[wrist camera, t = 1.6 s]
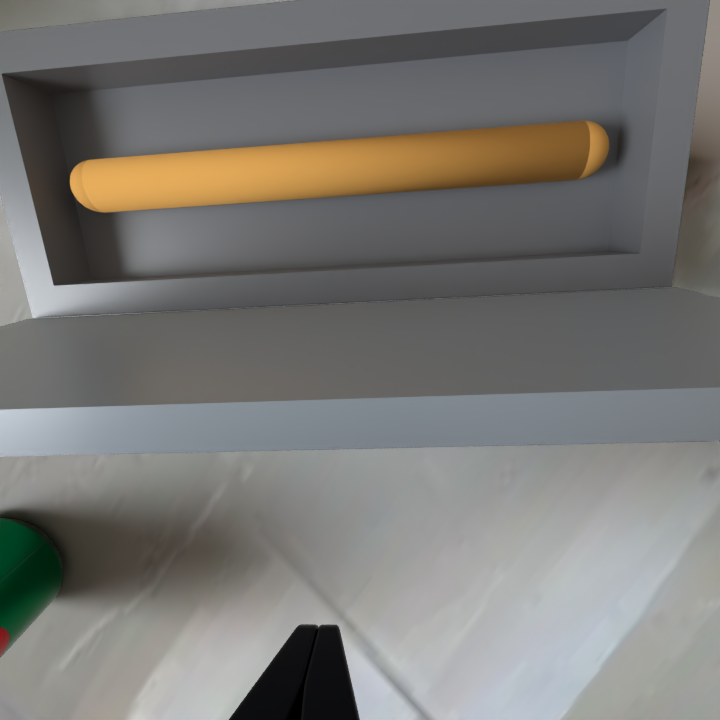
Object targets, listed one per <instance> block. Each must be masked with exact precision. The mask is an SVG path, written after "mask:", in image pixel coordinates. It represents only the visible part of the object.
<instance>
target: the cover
mask: <svg viewBox="0 0 720 720" xmlns="http://www.w3.org/2000/svg"><path fill="white" fill-rule="evenodd" d="M697 441H720V298H718V297H713V296H709V295H705V294H701V293H697V292H693V291H689V290H685V289H680V288H676V287H675V288H654V289H634V290H613V291H593V292H572V293H552V294H531V295H511V296H490V297H469V298H449V299H428V300H408V301H387V302H367V303H346V304H326V305H305V306H285V307H264V308H244V309H223V310H203V311H182V312H162V313H141V314H120V315H100V316H79V317H59V318H38V319H26V320H23V321H19V322H15V323H12V324H8V325H5V326H1V327H0V457H4V456H50V455H96V454H143V453H189V452H235V451H281V450H327V449H374V448H420V447H466V446H512V445H558V444H605V443H651V442H697Z"/></svg>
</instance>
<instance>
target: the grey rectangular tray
mask: <svg viewBox="0 0 720 720" xmlns="http://www.w3.org/2000/svg"><path fill="white" fill-rule="evenodd" d="M709 4H710V0H294V1H285V2H275V3H266V4H256V5H247V6H238V7H228V8H219V9H209V10H200V11H190V12H181V13H172V14H162V15H153V16H143V17H134V18H124V19H115V20H106V21H96V22H87V23H77V24H68V25H58V26H49V27H40V28H30V29H21V30H11V31H2V32H0V196H1V200H2V203H3V207H4V211H5V215H6V218H7V222H8V226H9V230H10V234H11V237H12V241H13V245H14V249H15V252H16V256H17V260H18V264H19V268H20V271H21V275H22V279H23V283H24V286H25V290H26V294H27V298H28V302H29V305H30V309H31V313H32V317H33V318H41V317H61V316H82V315H102V314H123V313H143V312H163V311H184V310H204V309H225V308H245V307H266V306H286V305H307V304H327V303H348V302H368V301H388V300H409V299H429V298H450V297H470V296H491V295H511V294H532V293H552V292H573V291H593V290H613V289H634V288H654V287H672V281H673V274H674V266H675V259H676V251H677V244H678V236H679V229H680V221H681V214H682V206H683V199H684V191H685V184H686V176H687V169H688V161H689V154H690V147H691V138H692V132H693V124H694V116H695V109H696V102H697V93H698V86H699V78H700V72H701V64H702V56H703V48H704V42H705V34H706V26H707V19H708V11H709ZM571 121H592V122H595V123H597V124H599V125H600V126H601V127H602V128H603V129H604V130H605V131H606V133H607V135H608V138H609V151H608V155H607V157H606V159H605V161H604V163H603V164H602V166H601V167H600V168H599V169H598V170H597V171H596V172H595V173H593V174H592V175H590V176H588V177H586V178H583V179H580V180H571V181H557V182H542V183H527V184H513V185H498V186H484V187H469V188H455V189H440V190H426V191H411V192H396V193H382V194H367V195H353V196H338V197H324V198H309V199H295V200H280V201H265V202H251V203H236V204H222V205H207V206H193V207H178V208H164V209H149V210H135V211H120V212H97V211H93V210H90V209H88V208H86V207H85V206H84V205H82V204H81V203H80V202H79V201H78V200H77V199H76V197H75V196H74V194H73V193H72V190H71V187H70V175H71V172H72V171H73V169H74V167H75V166H77V165H78V164H79V163H81V162H83V161H86V160H92V159H104V158H117V157H129V156H142V155H155V154H167V153H180V152H193V151H205V150H218V149H230V148H243V147H256V146H268V145H281V144H294V143H306V142H319V141H331V140H344V139H357V138H369V137H382V136H394V135H407V134H420V133H432V132H445V131H458V130H470V129H483V128H495V127H508V126H521V125H533V124H546V123H559V122H571Z"/></svg>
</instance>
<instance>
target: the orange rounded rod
mask: <svg viewBox="0 0 720 720" xmlns="http://www.w3.org/2000/svg"><path fill="white" fill-rule="evenodd" d="M608 151H609V138H608V135H607V133H606V131H605V130H604V129H603V128H602V127H601V126H600V125H599V124H597V123H595V122H592V121H571V122H559V123H546V124H533V125H521V126H508V127H495V128H483V129H470V130H458V131H445V132H432V133H420V134H407V135H394V136H382V137H369V138H357V139H344V140H331V141H319V142H306V143H294V144H281V145H268V146H256V147H243V148H230V149H218V150H205V151H193V152H180V153H167V154H155V155H142V156H129V157H117V158H104V159H92V160H86V161H83V162H81V163H79V164H78V165H77V166H75V167H74V169H73V171H72V172H71V175H70V187H71V190H72V193H73V194H74V196H75V197H76V199H77V200H78V201H79V202H80V203H81V204H82V205H84V206H85V207H86V208H88V209H90V210H93V211H97V212H120V211H135V210H149V209H164V208H178V207H193V206H207V205H222V204H236V203H251V202H265V201H280V200H295V199H309V198H324V197H338V196H353V195H367V194H382V193H396V192H411V191H426V190H440V189H455V188H469V187H484V186H498V185H513V184H527V183H542V182H557V181H571V180H580V179H583V178H586V177H588V176H590V175H592V174H593V173H595V172H596V171H597V170H598V169H599V168H600V167H601V166H602V164H603V163H604V161H605V159H606V157H607V155H608Z"/></svg>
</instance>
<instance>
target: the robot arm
mask: <svg viewBox="0 0 720 720" xmlns="http://www.w3.org/2000/svg"><path fill="white" fill-rule="evenodd" d="M229 720H360V719H359V714H358V710H357V705H356V701H355V696H354V692H353V687H352V683H351V678H350V674H349V669H348V665H347V660H346V656H345V651H344V647H343V642H342V638H341V633H340V629H339V627H338V626H337V625H320V626H319V627H318V626H317V625H299V626H298V627H297V628H296V629H295V630H294V632H293V633H292V634H291V636H290V637H289V638H288V640H287V641H286V643H285V644H284V645H283V647H282V648H281V649H280V651H279V652H278V653H277V655H276V656H275V657H274V659H273V660H272V662H271V663H270V664H269V666H268V667H267V668H266V670H265V671H264V672H263V674H262V675H261V677H260V678H259V679H258V681H257V682H256V683H255V685H254V686H253V687H252V689H251V690H250V692H249V693H248V694H247V696H246V697H245V698H244V700H243V701H242V702H241V704H240V705H239V707H238V708H237V709H236V711H235V712H234V713H233V715H232V716H231V717H230V719H229Z"/></svg>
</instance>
